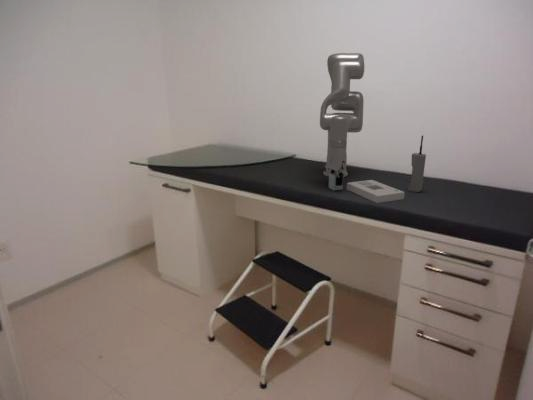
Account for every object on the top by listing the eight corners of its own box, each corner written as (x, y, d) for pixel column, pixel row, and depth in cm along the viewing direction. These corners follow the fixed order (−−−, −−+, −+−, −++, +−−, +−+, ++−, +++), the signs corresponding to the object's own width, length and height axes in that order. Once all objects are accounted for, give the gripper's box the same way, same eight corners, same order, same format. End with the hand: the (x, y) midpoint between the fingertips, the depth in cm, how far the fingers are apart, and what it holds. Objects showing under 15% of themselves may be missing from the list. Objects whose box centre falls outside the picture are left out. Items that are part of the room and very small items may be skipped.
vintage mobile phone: (410, 188, 183) (416, 134, 176) (421, 190, 180) (428, 135, 173) (407, 190, 181) (413, 135, 173) (418, 192, 178) (425, 136, 170)
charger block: (328, 187, 185) (329, 173, 183) (336, 186, 187) (337, 172, 184) (333, 190, 181) (334, 175, 179) (342, 189, 183) (343, 174, 180)
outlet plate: (346, 189, 183) (346, 182, 182) (371, 185, 188) (372, 179, 187) (377, 203, 163) (377, 195, 162) (404, 199, 169) (404, 191, 168)
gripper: (320, 141, 184) (319, 180, 189) (341, 148, 169) (338, 189, 174) (334, 140, 186) (332, 178, 192) (356, 146, 171) (353, 187, 177)
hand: (335, 183), depth 183 cm, fingers open, 4 cm apart
